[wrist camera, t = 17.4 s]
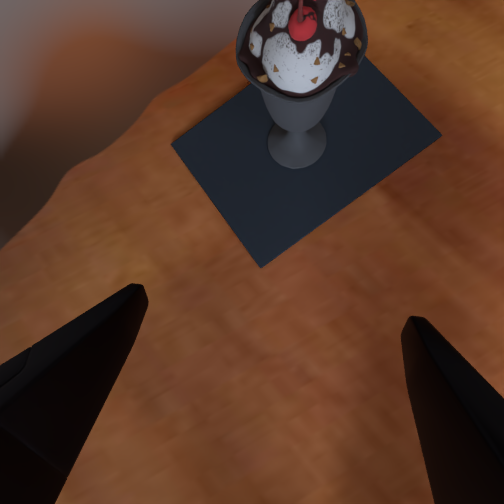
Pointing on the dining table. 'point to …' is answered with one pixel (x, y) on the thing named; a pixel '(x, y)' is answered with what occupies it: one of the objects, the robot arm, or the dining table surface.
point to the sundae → (300, 67)
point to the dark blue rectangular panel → (308, 178)
